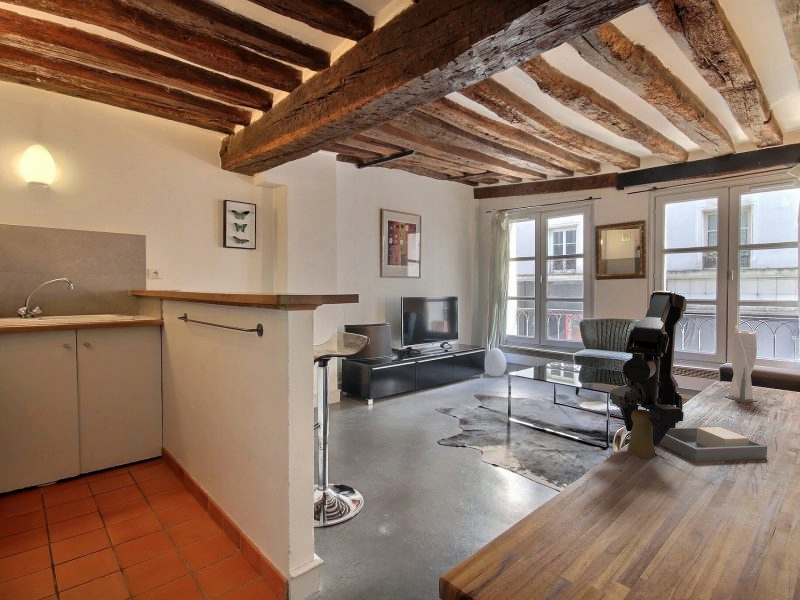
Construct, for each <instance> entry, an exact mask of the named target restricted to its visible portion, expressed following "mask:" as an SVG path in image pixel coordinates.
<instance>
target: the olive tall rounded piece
mask: <svg viewBox="0 0 800 600" xmlns="http://www.w3.org/2000/svg"><path fill="white" fill-rule="evenodd" d="M650 417H651V416H650V414H649V410H648V409H644V408H643V409H641V408H640V409H639V408H638V409H636V410H634V411H633V412H632V414H631V418H632V421H633V427H632V430H631V431H630V436H629V437H630V438H629V441H628V446H627V453H628V454H629V455H631V456H633V457H637V458H641V459H645V460H649V459H650V460H651V459H654V458H655V455H656V454H655V445H654V444H653V431H652V429H653V426H652V425H653V424H652V422H651V421H650V420H649V418H650Z"/></svg>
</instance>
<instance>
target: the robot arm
mask: <svg viewBox="0 0 800 600" xmlns="http://www.w3.org/2000/svg"><path fill="white" fill-rule="evenodd" d="M687 305H688V304H687V298H686V297H685V296H684V295H681V294H677V293H676V292H673V291H672V290H654V291H652V293H651V294H650V296H649V305H648V309H647V312H646V314H645V316H644V318H643V319H640V320H638V321H636V323H635V325H634V326H633V327H632V328H633V329H632V328H631V329H630V332H629V334H628V338H627V339H628V340H627V344H626V348H625V353H627V354H631V358H630V359H628V360H626V362H624V364H623V366H622V372H623V375H624V377H625V378H626V379H627V380H626V381H627V382H626V384H625V385H621V386H619V387H616V388H613V389H611V390H610V391H609V400H610V401H611V404H612V405H615V406H616V407H617V408H618V409H619V410H620V412H621V415H622V419H623V423H624V426H625V429H626V431H627V432H631V431H632V427H633V421H632V418H631V414H632V412H633V411H634V410H636V409H639V408H640V407H641V408H643V409H644V410H647V411H649V414H650V416H651V417H650V418H649V420H650V421H651V422H652V424H653V425H652V429H653V444H654V446H658V445H660V444H659V443H660V442H661V440H662V439H663V437H664V436H665V434H666V433H667V432H668V430H669V429H670V428H677V427H676V424H679V423H680V422H684V417H685V415H684V411H683V407H684V406H683V403H684V402H683V397H682V395H681V391H679V384H678V382H677V381H676V378H675V377H674V375H673V372H674V359H675V358H674V357H675V344H676V329H677V325H678V323H680V322H681V320H682V319H683V317H684V312H685V313H686V311H687Z"/></svg>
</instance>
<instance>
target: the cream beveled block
mask: <svg viewBox="0 0 800 600" xmlns="http://www.w3.org/2000/svg"><path fill="white" fill-rule="evenodd" d="M702 427H703V428H697V437H696V443H698V444H701V445H703V446H705V447H707V448H709V447H732V446H748V441H749V440H750V438H749V437H747V436H744V435H742V434H739V433H736V432H734V431H731V430H729V429H726V428H723V427H720V426H702Z"/></svg>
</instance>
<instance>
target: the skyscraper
mask: <svg viewBox="0 0 800 600" xmlns="http://www.w3.org/2000/svg"><path fill="white" fill-rule="evenodd" d="M734 331H735V332H734V335H733V341H732V345H731V346H732V347H731V358H730V359H731V366H732V373H733V376H732V379H731V384H730V387H729V391H728V395H725V396H724V398H726V399H730V400H733V401H735V402H736V401H737V402H740V403H756V402H758V400H756V399H753V398H754V397H753V395H754V394H753V386H752V376H751V374H752V373H753V370H754V368H755V364H756V360H757V356H758V355H757V353H758V352H757V351H758V346H757V345H758V344H757V333H756V331H755V330H752V332H751V330H748V329H747V330H746V329H745V330H744V329H741V330H739V326H738V325H735V327H734Z"/></svg>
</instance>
